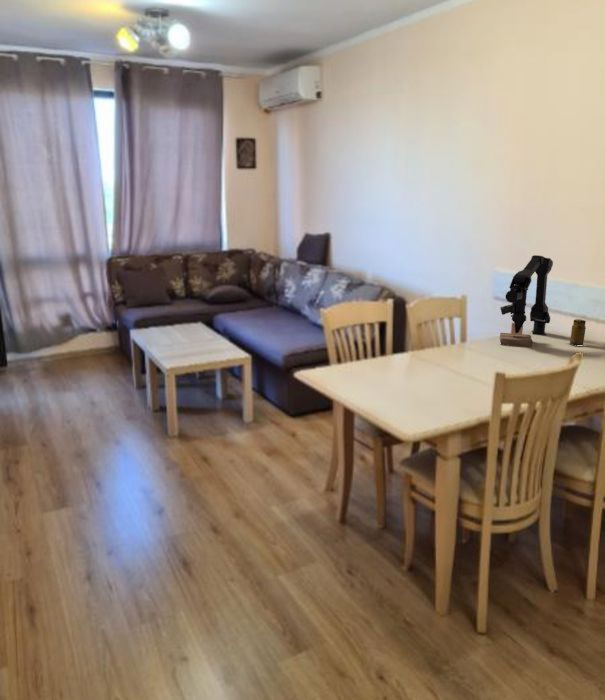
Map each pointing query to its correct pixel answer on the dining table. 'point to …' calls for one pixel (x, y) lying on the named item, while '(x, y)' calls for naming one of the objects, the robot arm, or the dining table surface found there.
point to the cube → (514, 330)
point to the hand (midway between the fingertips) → (516, 331)
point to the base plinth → (515, 340)
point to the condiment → (578, 332)
